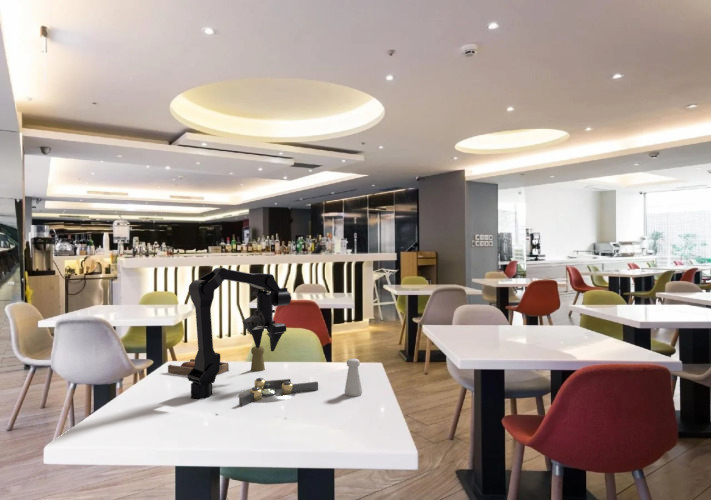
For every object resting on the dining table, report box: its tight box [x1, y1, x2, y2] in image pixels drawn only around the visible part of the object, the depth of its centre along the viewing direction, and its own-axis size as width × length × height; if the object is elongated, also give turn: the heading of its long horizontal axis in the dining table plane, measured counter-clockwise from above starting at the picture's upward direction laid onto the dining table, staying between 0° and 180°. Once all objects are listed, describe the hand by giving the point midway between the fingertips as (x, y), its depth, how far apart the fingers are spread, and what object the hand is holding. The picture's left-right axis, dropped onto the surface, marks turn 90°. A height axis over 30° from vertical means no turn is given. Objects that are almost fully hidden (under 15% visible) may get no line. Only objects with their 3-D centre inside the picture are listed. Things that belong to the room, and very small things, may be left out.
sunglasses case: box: [180, 361, 195, 368], centre depth 191 cm, size 18×7×7 cm, turn 66°
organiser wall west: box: [167, 364, 193, 376], centre depth 185 cm, size 1×20×3 cm, turn 65°
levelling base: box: [238, 386, 297, 407], centre depth 151 cm, size 24×19×5 cm
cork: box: [250, 345, 266, 372], centre depth 186 cm, size 6×6×11 cm
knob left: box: [254, 377, 292, 390], centre depth 159 cm, size 12×4×4 cm, turn 105°
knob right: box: [282, 380, 319, 395], centre depth 155 cm, size 12×4×4 cm, turn 111°
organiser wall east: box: [189, 358, 229, 365], centre depth 196 cm, size 1×20×3 cm, turn 65°
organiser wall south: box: [216, 363, 230, 376], centre depth 186 cm, size 11×1×3 cm, turn 155°
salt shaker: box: [344, 357, 363, 397], centre depth 152 cm, size 6×6×13 cm
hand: (265, 349), depth 169 cm, fingers open, 9 cm apart
